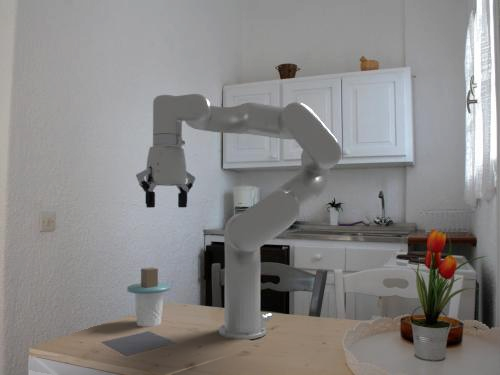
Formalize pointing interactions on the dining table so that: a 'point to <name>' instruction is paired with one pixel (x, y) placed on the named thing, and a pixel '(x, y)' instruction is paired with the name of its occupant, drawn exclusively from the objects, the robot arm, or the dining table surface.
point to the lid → (149, 283)
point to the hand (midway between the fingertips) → (166, 207)
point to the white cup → (148, 309)
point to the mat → (138, 343)
